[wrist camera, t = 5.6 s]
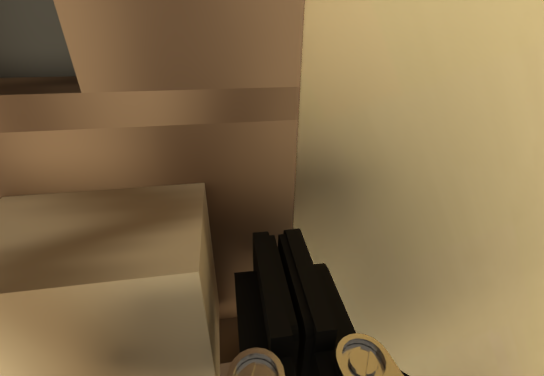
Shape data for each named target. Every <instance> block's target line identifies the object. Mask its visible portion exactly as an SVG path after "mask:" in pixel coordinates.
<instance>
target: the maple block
mask: <svg viewBox="0 0 544 376" xmlns="http://www.w3.org/2000/svg"><path fill="white" fill-rule="evenodd" d="M0 376H220V336H219V299H218V291H217V283H216V274H215V266H214V258H213V249H212V241H211V233H210V225H209V216H208V208H207V200H206V191H205V183H195V184H181V185H167V186H153V187H138V188H124V189H110V190H95V191H81V192H67V193H53V194H38V195H24V196H10V197H2V198H1V199H0Z"/></svg>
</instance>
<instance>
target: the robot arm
mask: <svg viewBox="0 0 544 376" xmlns="http://www.w3.org/2000/svg"><path fill="white" fill-rule="evenodd" d="M234 278H235V294H236V308H237V323H238V338H239V352H240V354H238V355H237V356H236V357H235V358H234V359H233V361H232V363H231V364H230V366H229V369H228V373H227V376H409V375H407V374H406V373H404V372H402V371H401V370H400V369H399V368H398V366H397V365H396V363H395V362H394V360H393V359H392V357H391V356H390V354H389V353H388V351H387V350H386V349H385V347H384V346H383V345H382V344H381V343H380V342H378V341H377V340H376V339H374V338H373V337H370V336H368V335H366V334H359V333H356V332H355V330H354V327H353V325H352V323H351V321H350V318H349V316H348V314H347V311H346V309H345V307H344V304H343V302H342V300H341V297H340V295H339V293H338V291H337V288H336V286H335V284H334V281H333V279H332V277H331V274H330V272H329V270H328V268H327V266H326V265H325V264H324V263H322V264H313V262H312V259H311V257H310V254H309V251H308V249H307V246H306V244H305V241H304V238H303V236H302V233H301V231H300V229H288V230H284V231H283V234H279V235H278V246H277V242H276V239H275V235H269V232H268V231H266V232H254V233H253V271H247V272H237V273H234Z"/></svg>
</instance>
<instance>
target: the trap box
mask: <svg viewBox="0 0 544 376" xmlns="http://www.w3.org/2000/svg"><path fill="white" fill-rule="evenodd" d="M304 4H305V0H0V199H1V198H2V197H10V196H24V195H38V194H53V193H67V192H81V191H95V190H110V189H124V188H138V187H153V186H167V185H181V184H195V183H205V191H206V200H207V208H208V216H209V225H210V233H211V241H212V249H213V258H214V266H215V274H216V283H217V291H218V299H219V336H220V376H227V373H228V369H229V366H230V364H231V363H232V361H233V359H234V358H235V357H236V356H237V355H238V354H240V352H239V338H238V323H237V308H236V294H235V278H234V273H237V272H247V271H253V233H254V232H266V231H268V232H269V235H275V239H276V242H277V246H278V235H279V234H283V231H284V230H288V229H293V215H294V196H295V177H296V158H297V139H298V119H299V100H300V81H301V62H302V42H303V23H304Z"/></svg>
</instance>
